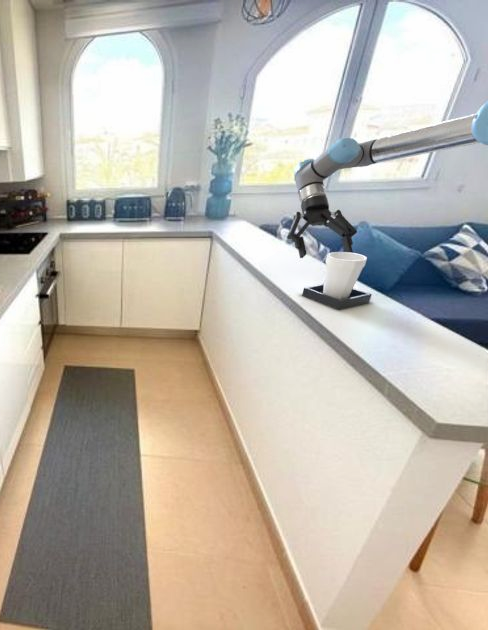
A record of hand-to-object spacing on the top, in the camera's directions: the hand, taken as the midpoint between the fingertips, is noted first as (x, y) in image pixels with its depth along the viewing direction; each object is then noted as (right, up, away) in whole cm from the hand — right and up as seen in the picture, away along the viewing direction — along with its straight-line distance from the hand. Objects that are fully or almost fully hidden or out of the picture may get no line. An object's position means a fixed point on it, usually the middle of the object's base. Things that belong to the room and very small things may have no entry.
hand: (326, 255), depth 112 cm
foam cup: (-1, -14, -4) cm, 15 cm away
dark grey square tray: (-1, -14, -4) cm, 15 cm away
